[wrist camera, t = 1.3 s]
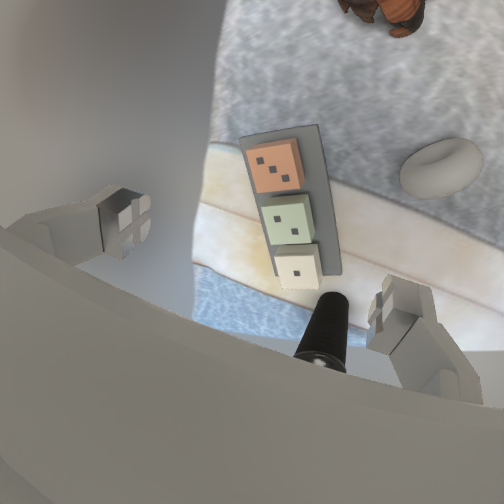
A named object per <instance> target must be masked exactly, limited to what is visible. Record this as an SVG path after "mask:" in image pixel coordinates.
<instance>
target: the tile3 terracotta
mask: <svg viewBox="0 0 504 504" xmlns="http://www.w3.org/2000/svg"><path fill="white" fill-rule="evenodd" d="M246 154H247V158H248V161H249V165H250V169H251V172H252V176H253V180H254V183H255V187H256V191H257V193H263V192H272V191H281V190H291V189H300V188H301V186H302V185H303V183H304V181H305V177H304V173H303V168H302V163H301V159H300V154H299V150H298V145H297V141H296V138H293V139H286V140H280V141H274V142H268V143H262V144H257V145H253V146H252V147H251V148H249V149H248V150H246Z"/></svg>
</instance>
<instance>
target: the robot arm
mask: <svg viewBox="0 0 504 504" xmlns="http://www.w3.org/2000/svg"><path fill="white" fill-rule="evenodd" d="M149 208H150V197H149V196H148V195H147V194H144V193H141V192H138V191H134V190H131V189H128V188H125V187H122V186H119V185H112V184H111V185H110V186H108V187H107V188H105V189H104V190H102V191H100V192H99V193H98V194H96V195H94V196H93V197H91V198H90V199H88V200H87V201H85V202H82V201H80V202H76V203H71V204H67V205H62V206H58V207H54V208H50V209H45V210H41V211H38V212H34V213H30V214H26V215H24V216H23V217H21V218H20V219H18V220H17V221H16V222H14V223H13V224H12V225H10V226H9V227H8V228H6V229H5V228H3V227H2V226H0V504H504V408H497V407H491V406H485V405H483V398H482V390H481V384H480V377H479V376H478V374H477V373H476V371H475V370H474V368H473V367H472V366H471V364H470V363H469V361H468V360H467V358H466V357H465V355H464V354H463V353H462V351H461V350H460V348H459V347H458V346H457V344H456V343H455V342H454V340H453V339H452V337H451V336H450V335H449V333H448V332H447V331H446V329H445V328H444V327H443V325H442V324H440V323H438V322H437V316H436V311H435V305H434V300H433V295H432V291H431V289H430V288H429V287H427V286H424V285H421V284H417V283H414V282H411V281H408V280H405V279H402V278H399V277H396V276H392V275H389V274H388V275H387V277H386V278H385V280H384V281H383V283H382V292H380V293H378V294H376V296H375V298H374V299H373V301H372V304H371V306H370V309H369V314H368V323H369V325H370V326H371V327H370V328H369V330H368V331H367V341H366V348H368V349H371V350H374V351H377V352H380V353H383V354H386V355H389V358H390V360H391V362H392V364H393V366H394V369H395V371H396V373H397V375H398V378H399V380H400V382H401V385H402V387H403V388H399V387H395V386H391V385H387V384H382V383H379V382H375V381H371V380H367V379H364V378H360V377H357V376H353V375H349V374H346V373H343V372H339V371H336V370H333V369H329V368H326V367H323V366H319V365H316V364H313V363H310V362H307V361H304V360H301V359H298V358H294V357H291V356H288V355H285V354H282V353H280V352H277V351H273V350H271V349H268V348H265V347H262V346H259V345H257V344H254V343H251V342H248V341H245V340H243V339H240V338H237V337H235V336H232V335H229V334H226V333H224V332H221V331H219V330H216V329H214V328H211V327H209V326H206V325H203V324H201V323H198V322H196V321H193V320H191V319H188V318H186V317H184V316H181V315H179V314H176V313H174V312H172V311H169V310H167V309H164V308H162V307H159V306H157V305H155V304H153V303H151V302H148V301H146V300H144V299H141V298H139V297H137V296H135V295H133V294H130V293H128V292H126V291H124V290H122V289H120V288H117V287H115V286H113V285H111V284H109V283H107V282H105V281H103V280H101V279H99V278H96V277H94V276H92V275H90V274H88V273H86V272H84V271H82V270H80V269H78V268H76V267H74V266H76V265H78V264H80V263H83V262H85V261H87V260H90V259H92V258H94V257H96V256H99V255H101V254H103V253H106V254H108V255H111V256H113V257H116V258H119V259H121V260H123V259H124V258H125V257H126V256H127V255H128V254H129V253H130V252H131V251H132V250H133V249H134V244H137V243H141V242H142V241H143V240H144V239H145V238H146V236H147V234H148V232H149V229H150V216H149V214H148V212H147V210H148V209H149Z"/></svg>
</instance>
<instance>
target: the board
mask: <svg viewBox="0 0 504 504" xmlns="http://www.w3.org/2000/svg"><path fill="white" fill-rule="evenodd" d="M293 138H296V141H297V145H298V150H299V154H300V159H301V163H302V168H303V173H304V177H305V181H304V183H303V185H302V186H301V188H300V189H291V190H281V191H272V192H263V193H257V191H256V187H255V183H254V180H253V176H252V172H251V169H250V165H249V161H248V158H247V154H246V150H248V149H249V148H251V147H252V146H253V145H257V144H262V143H268V142H274V141H280V140H286V139H293ZM239 143H240V146H241V150H242V153H243V157H244V161H245V164H246V168H247V171H248V175H249V179H250V182H251V186H252V190H253V193H254V197H255V201H256V204H257V208H258V212H259V216H260V219H261V223H262V227H263V230H264V234H265V238H266V242H267V246H268V249H269V253H270V257H271V261H272V264H273V268H274V272H275V276H279V275H278V271H277V267H276V263H275V259H274V256H275V254H276V252H277V250H278V248H279V246H283V245H305V244H317V245H318V251H319V257H320V263H321V269H322V275H323V276H332V275H342V265H341V257H340V249H339V242H338V235H337V228H336V221H335V214H334V208H333V202H332V196H331V190H330V184H329V178H328V173H327V167H326V162H325V157H324V151H323V146H322V141H321V137H320V132H319V127H318V124H315V125H308V126H301V127H295V128H288V129H282V130H277V131H271V132H265V133H260V134H255V135H250V136H245V137H241V138H239ZM302 194H308V197H309V202H310V207H311V212H312V218H313V223H314V228H315V233H314V236H313V239H312V242H311V243H300V244H279V245H271V244H270V240H269V236H268V232H267V229H266V225H265V221H264V217H263V213H262V210H261V206H262V205H263V204H264V202H265V201H266V200H267V198H272V197H282V196H292V195H302Z"/></svg>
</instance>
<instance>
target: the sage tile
mask: <svg viewBox="0 0 504 504" xmlns="http://www.w3.org/2000/svg"><path fill="white" fill-rule="evenodd" d="M261 210H262V213H263V217H264V221H265V225H266V229H267V232H268V236H269V240H270V244H271V245H279V244H300V243H311V242H312V239H313V236H314V233H315V228H314V223H313V218H312V212H311V207H310V202H309V197H308V194H302V195H292V196H282V197H272V198H267V200H266V201H265V202H264V204H263V205H262V206H261Z"/></svg>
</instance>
